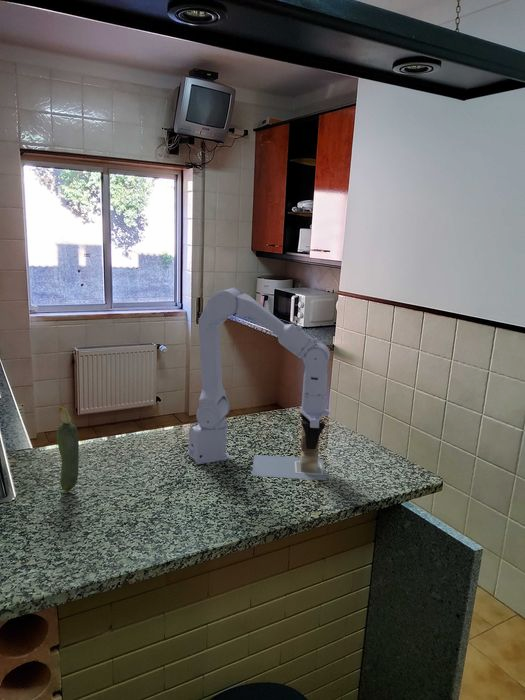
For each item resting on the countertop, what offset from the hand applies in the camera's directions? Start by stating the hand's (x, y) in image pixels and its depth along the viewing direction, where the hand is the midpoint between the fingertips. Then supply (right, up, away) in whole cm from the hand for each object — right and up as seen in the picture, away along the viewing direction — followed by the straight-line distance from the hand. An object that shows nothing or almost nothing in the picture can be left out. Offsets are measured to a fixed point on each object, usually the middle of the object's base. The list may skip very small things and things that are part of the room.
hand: (310, 444), depth 126 cm
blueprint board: (-5, -6, +2) cm, 8 cm away
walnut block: (0, -1, 0) cm, 1 cm away
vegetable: (-54, -8, -16) cm, 57 cm away
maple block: (0, -6, +1) cm, 6 cm away
